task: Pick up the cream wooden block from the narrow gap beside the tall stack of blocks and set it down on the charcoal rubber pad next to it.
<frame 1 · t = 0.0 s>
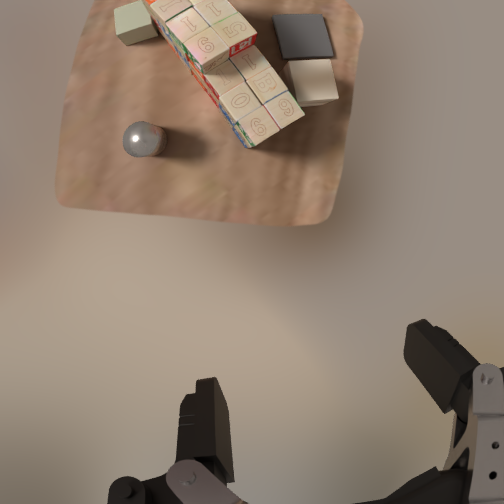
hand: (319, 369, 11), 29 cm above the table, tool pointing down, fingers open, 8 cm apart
grey capsule: (152, 140, 33), on the table
stack of blocks: (219, 71, 32), on the table
charcoal pad: (302, 36, 30), on the table
sage green block: (140, 28, 28), on the table
cream block: (300, 89, 33), on the table
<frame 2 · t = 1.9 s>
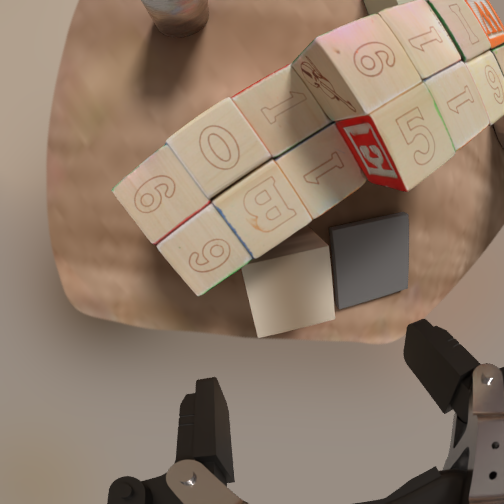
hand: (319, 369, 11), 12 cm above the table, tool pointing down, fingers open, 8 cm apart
grey capsule: (181, 16, 15), on the table
stack of blocks: (303, 121, 19), on the table
charcoal pad: (370, 259, 23), on the table
sage green block: (389, 16, 16), on the table
cream block: (275, 258, 22), on the table
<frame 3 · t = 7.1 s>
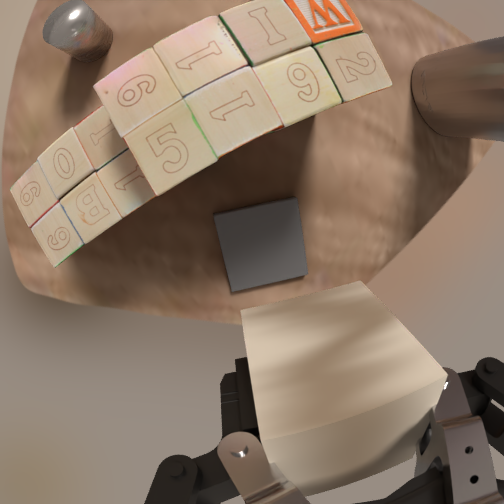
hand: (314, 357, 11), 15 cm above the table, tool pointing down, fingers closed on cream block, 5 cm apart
grey capsule: (93, 42, 17), on the table
stack of blocks: (186, 134, 22), on the table
charcoal pad: (262, 243, 25), on the table
cream block: (308, 343, 12), point 14 cm above the table, touching gripper
when the fingers open (3 cm above the table, at t = 10.2 s): cream block stays where it is, resting on charcoal pad.
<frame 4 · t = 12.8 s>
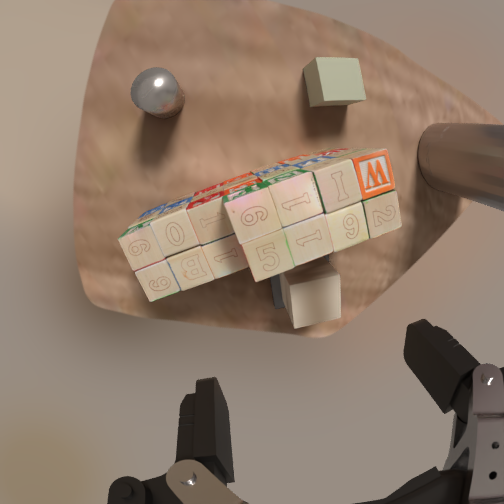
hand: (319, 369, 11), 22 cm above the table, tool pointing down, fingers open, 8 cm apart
grey capsule: (165, 100, 26), on the table
stack of blocks: (245, 203, 31), on the table
charcoal pad: (299, 274, 34), on the table
sage green block: (325, 86, 27), on the table
cream block: (301, 277, 33), point 1 cm above the table, touching charcoal pad
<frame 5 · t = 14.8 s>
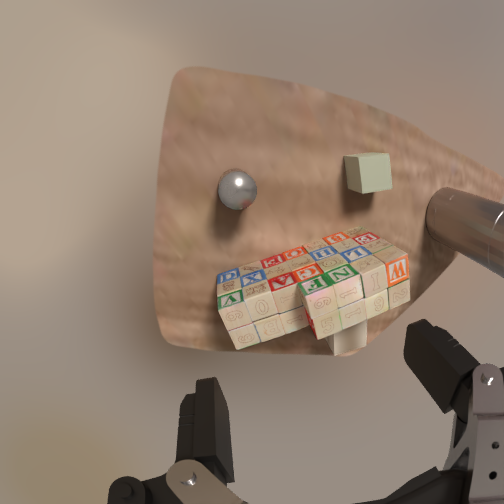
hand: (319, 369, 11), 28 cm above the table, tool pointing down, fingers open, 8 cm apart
grey capsule: (234, 184, 35), on the table
stack of blocks: (296, 267, 40), on the table
sage green block: (360, 170, 36), on the table
cream block: (336, 315, 43), point 1 cm above the table, touching charcoal pad
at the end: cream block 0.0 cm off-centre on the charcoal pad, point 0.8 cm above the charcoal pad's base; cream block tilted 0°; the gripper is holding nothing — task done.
